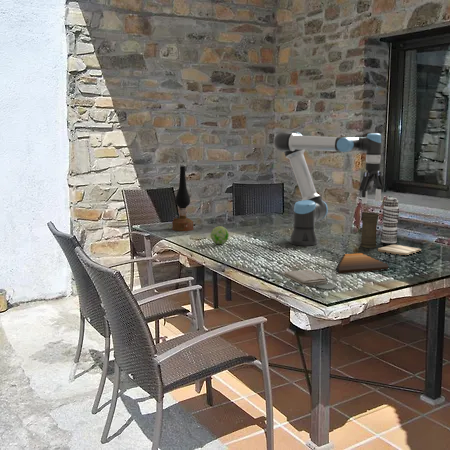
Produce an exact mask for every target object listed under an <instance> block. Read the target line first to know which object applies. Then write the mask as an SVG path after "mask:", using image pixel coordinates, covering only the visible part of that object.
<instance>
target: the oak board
mask: <svg viewBox="0 0 450 450" xmlns="http://www.w3.org/2000/svg"><path fill="white" fill-rule="evenodd" d="M377 251H378V252H379V253H385V252H386V253H387V254H390V253H391V254H390V255H396V254H399V255H398V256H401V255H409V254H412V255H414V254H413V253H415V254H417V253H416V252H419V251H421V252H422V249H421V248H417V247H411V246H407V245H399V244H396V243H392V244H390V245H389V244H388V245H386V246H382V247H378V248H377ZM419 253H420V252H419ZM409 256H410V255H409Z"/></svg>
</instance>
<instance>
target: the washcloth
mask: <svg viewBox="0 0 450 450" xmlns="http://www.w3.org/2000/svg"><path fill="white" fill-rule="evenodd" d="M284 277H286V278H288V279H290V280H292V281H295V282H296V283H299V284H300V285H302V287H303V286H316V285H326V284H328V281H327V277H325V276H323V275H322V273H318V272H316V271H314V270H312V269H309V268H308V269H301V270H293V271H286V272H284Z"/></svg>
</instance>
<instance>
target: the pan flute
mask: <svg viewBox="0 0 450 450" xmlns="http://www.w3.org/2000/svg"><path fill="white" fill-rule="evenodd" d="M381 269H388V270H389V265H388V264H387V262H386V263H385V262H384V261H380V260H379V259H375V258H374V257H371V255H369V256H368V255H367V254H364V253H363V252H358V253H345V254H343V255H342V257H341V259H340V260H339V263H337V266H336V267H335V272H336V273H337V274H348V273H349V274H350V273H362V272H361V271H365V272H373V271H372V270H379V271H382V270H381Z"/></svg>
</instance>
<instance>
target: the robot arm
mask: <svg viewBox="0 0 450 450" xmlns="http://www.w3.org/2000/svg"><path fill="white" fill-rule="evenodd" d="M382 142H383V141H382V135H381V133H367V135H366V136H364V137H363V136H362V137H361V136H347V137H346V136H320V135H316V136H315V135H303V134H302V133H301V132H298V131H295V130H288V131H287V130H284V131H280V132H277V134H275V136H274V139H273V145H274V147H275V149H276V150H277V151H279V152H281V153H284V155H285V158H286V159H288V160H289V162H290V166H291V169H292V171H293V174H294V177H295V180H296V182H297V186H298V189H299V192H300V194H301V197H302V199H301V200H299V201H296V202H295V203H294V206H293V229H292V232H291V236H290V238H289V243H290V244H291V245H296V246H306V247H307V246H309V247H310V246H315V245H318V238H317V235H316V230H315V227H316V226H315V225H316V222H319V221H322V220H323V219H325V218H326V217H327V215H328V213H329V212H328V211H329V206H328V204H327V203H326V202H325V201H323V199H322V196H321V195H320V194H318V193H317V189H316V187H315V184H314V180H313V177H312V175H311V172H310V169H309V166H308V164H307V161H306V158H305V157H306V156H305V155H304V153H305V152H306V151H321V152H324V151H325V152H342V153H350V152H365V154H366V155H365V170H366V172H363V176H362V180H361V183H360V186H359V191H360V192H361V204H367V203H368V189H369V187H370V184H371V182H372V181H373V182H374V185H375V188H376V189H375V197H374V199H375V202H381V196H382V190H384V187H385V186H384V181H383V177H382V171H381V158H382V157H381V156H382V155H381V152H382Z"/></svg>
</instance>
